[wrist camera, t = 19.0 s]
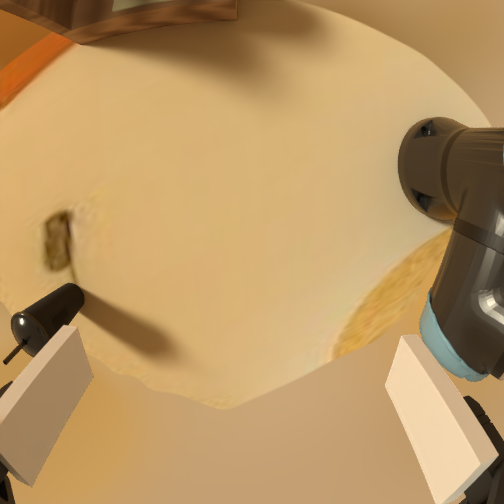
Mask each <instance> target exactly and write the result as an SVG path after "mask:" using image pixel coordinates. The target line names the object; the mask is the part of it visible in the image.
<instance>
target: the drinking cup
mask: <svg viewBox="0 0 504 504" xmlns="http://www.w3.org/2000/svg"><path fill="white" fill-rule="evenodd" d="M83 304H84V295H83V293H82V291H81V289H80V288H79V287H78V286H76V285H75V284H73V283H67V284H65V285H63V286H61V287H60V288H58V289H57V290H55V291H53V292H52V293H50V294H48V295H47V296H45V297H44V298H42V299H40V300H39V301H37V302H36V303H34V304H33V305H31V306H29V307H28V308H26V309H25V310H23V311H22V312H17V313H15V314H14V315H13V316H12V319H11V329H12V332H13V335H14V337H15V339H16V341H17V342H18V344H19V345H18V346H17V347H16V348H15V349H14V350H13V351H12V352H11V353H10V354H9V355H8V356H7V357H6V358H5V359H4V360H3V363H4V364H5V365H7V364H8V363H9V362H10V360H11V359H12V358H13V357H14V356H15V355H16V354H17V353H18V352H19V351H20V350H21V349H23V350H24V351H25V352H26V353H27V354H29V355H30V356H32V357H35V356H36V355H37V354H38V353H39V352H40V350H41V349H42V348H43V347H44V346H45V345H46V344H47V343H48V342H49V340H50V339H51V338H52V337H53V336H54V335H55V334H56V333H57V332H58V331H59V330H60V329H61V327H62V326H63V325H67V326H68V325H69V323H70V322H71V321H72V319H73V318H74V317H75V315H76V314H77V313H78V311H79V310H80V309H81V307H82V306H83Z"/></svg>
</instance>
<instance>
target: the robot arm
mask: <svg viewBox="0 0 504 504" xmlns="http://www.w3.org/2000/svg"><path fill="white" fill-rule="evenodd" d="M398 174H399V179H400V183H401V186H402V189H403V191H404V193H405V195H406V197H407V199H408V200H409V201H410V203H411V204H412V205H413V206H414V207H415V208H416V209H417V210H419V211H420V212H422V213H424V214H426V215H428V216H430V217H432V218H435V219H441V220H449V219H456V221H455V224H454V228H453V230H452V233H451V236H450V239H449V243H448V246H447V249H446V251H445V254H444V257H443V260H442V263H441V266H440V269H439V271H438V274H437V276H436V279H435V281H434V284H433V286H432V287H431V288H430V290H429V292H428V296H427V301H426V304H425V307H424V310H423V312H422V315H421V318H420V322H419V329H420V333H421V335H422V340H423V341H422V340H421V339H420V337H419V336H418V335H417V334H411V335H401V338H400V341H399V345H398V348H397V351H396V354H395V357H394V361H393V364H392V367H391V370H390V372H389V375H388V378H387V381H386V384H385V387H386V389H387V391H388V393H389V396H390V398H391V400H392V402H393V404H394V406H395V408H396V411H397V413H398V415H399V417H400V419H401V422H402V424H403V426H404V428H405V431H406V433H407V435H408V437H409V440H410V442H411V444H412V446H413V449H414V451H415V454H416V456H417V459H418V461H419V463H420V466H421V468H422V471H423V473H424V476H425V478H426V480H427V483H428V486H429V488H430V491H431V493H432V496H433V498H434V501H435V504H447V503H450V502H452V501H454V500H456V499H457V498H458V497H459V496H460V495H461V494H462V493H463V492H464V493H465V495H466V498H465V499H464V500H462V501H461V502H460V503H459V504H504V441H503V439H502V437H501V436H500V434H499V433H498V431H497V430H496V428H495V426H494V425H493V423H491V422H490V421H491V420H490V419H489V417H488V416H487V415H485V411H484V410H483V409H482V407H481V406H480V404H479V403H478V402H477V401H475V400H474V399H473V398H471V397H470V396H465V397H462V396H461V394H460V393H459V391H458V390H457V388H456V387H455V385H454V384H453V383H452V381H451V380H450V378H449V377H448V376H447V374H446V373H445V371H444V370H443V368H442V367H441V366H440V365H442V366H443V367H444V368H445V369H446V370H447V371H449V372H450V373H452V374H453V375H455V376H457V377H459V378H464V377H465V378H466V380H467V381H471V382H477V381H481V380H482V379H484V378H485V377H487V376H488V375H489V374H491V375H493V376H494V377H496V378H497V379H499V380H500V381H501V380H504V128H469V127H467V126H465V125H463V124H461V123H459V122H457V121H455V120H452V119H449V118H445V117H434V118H427V119H424V120H421V121H419V122H418V123H416V124H415V125H413V126H412V127H411V128H410V130H409V131H408V132H407V134H406V135H405V137H404V139H403V141H402V144H401V146H400V150H399V156H398ZM423 342H424V343H423ZM92 379H93V373H92V370H91V368H90V365H89V362H88V359H87V356H86V353H85V350H84V347H83V343H82V340H81V337H80V334H79V330H78V327H74V326H67V325H63V326H62V327H61V329H60V330H59V331H58V332H57V333H56V334H55V335H54V336H53V337H52V338H51V339H50V340H49V342H48V343H47V344H46V345H45V346H44V347H43V348H42V349H41V350H40V352H39V353H38V354H37V355H36V356H35V357H34V358H33V360H32V361H31V362H30V363H29V364H28V365H27V366H26V368H25V369H24V370H23V371H22V372H21V373H20V375H19V376H18V377H17V378H16V379H15V381H14V382H13V381H11V382H9V383H8V384H6V385H5V386H3V387H2V388H1V389H0V504H15V500H14V496H13V493H12V488H11V483H10V480H9V478H8V476H7V473H8V471H9V472H10V473H11V474H13V476H14V477H15V478H16V479H17V480H19V481H21V482H23V483H24V484H27V485H28V486H30V487H32V486H33V485H34V483H35V481H36V479H37V476H38V475H39V473H40V471H41V469H42V467H43V465H44V463H45V461H46V459H47V457H48V455H49V454H50V452H51V450H52V448H53V446H54V444H55V442H56V441H57V439H58V437H59V435H60V433H61V432H62V430H63V428H64V426H65V425H66V423H67V421H68V419H69V418H70V416H71V414H72V412H73V411H74V409H75V407H76V406H77V404H78V402H79V400H80V399H81V397H82V395H83V394H84V392H85V390H86V389H87V387H88V385H89V384H90V382H91V381H92Z"/></svg>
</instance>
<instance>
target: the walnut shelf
mask: <svg viewBox="0 0 504 504" xmlns="http://www.w3.org/2000/svg"><path fill="white" fill-rule="evenodd" d="M0 9H1V10H4V11H6V12H9V13H11V14H14V15H16V16H19V17H21V18H24V19H26V20H28V21H31V22H33V23H36V24H38V25H40V26H42V27H45V28H47V29H49V30H51V31H53V32H55V33H57V34H59V35H62V36H64V37H66V38H68V39H70V40H72V41H74V42H76V43H78V44H80V45H81V44H85V43H88V42H92V41H95V40H99V39H103V38H107V37H111V36H115V35H119V34H124V33H128V32H133V31H138V30H144V29H149V28H155V27H162V26H169V25H176V24H185V23H195V22H207V21H226V20H237V11H238V0H0Z"/></svg>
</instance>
